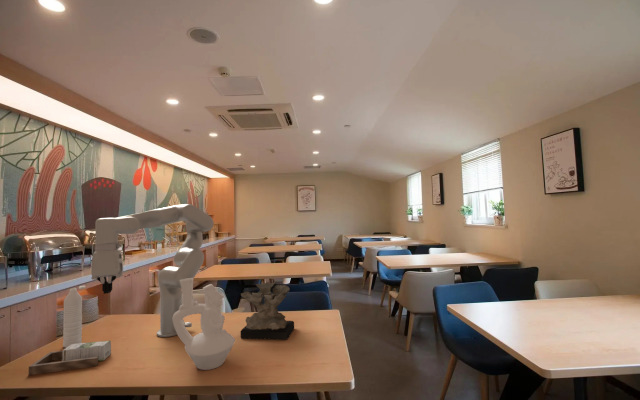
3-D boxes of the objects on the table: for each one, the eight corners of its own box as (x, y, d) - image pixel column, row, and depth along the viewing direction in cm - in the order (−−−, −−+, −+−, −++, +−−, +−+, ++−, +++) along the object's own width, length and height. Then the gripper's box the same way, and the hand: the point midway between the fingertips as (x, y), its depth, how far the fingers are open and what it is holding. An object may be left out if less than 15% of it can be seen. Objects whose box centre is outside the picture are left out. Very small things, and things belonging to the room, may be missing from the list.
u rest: (110, 352, 125) (110, 344, 125) (96, 366, 113) (96, 357, 113) (49, 359, 120) (50, 352, 120) (28, 375, 108) (28, 366, 108)
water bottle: (71, 348, 131) (72, 290, 132) (58, 347, 132) (59, 289, 133) (90, 340, 139) (90, 285, 141) (78, 339, 140) (79, 285, 142)
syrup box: (111, 354, 123) (70, 359, 120) (111, 339, 123) (71, 343, 121) (103, 360, 117) (61, 365, 115) (103, 345, 118) (61, 349, 115)
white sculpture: (230, 374, 104) (228, 280, 106) (164, 379, 102) (164, 284, 104) (238, 351, 122) (237, 271, 124) (183, 355, 119) (182, 274, 121)
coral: (233, 338, 136) (232, 290, 137) (251, 322, 155) (251, 280, 157) (286, 341, 131) (284, 291, 132) (298, 324, 151) (297, 281, 152)
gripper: (130, 245, 129) (131, 288, 129) (90, 248, 125) (90, 292, 125) (124, 247, 122) (124, 293, 121) (81, 250, 118) (81, 297, 117)
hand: (107, 292), depth 123 cm, fingers closed
